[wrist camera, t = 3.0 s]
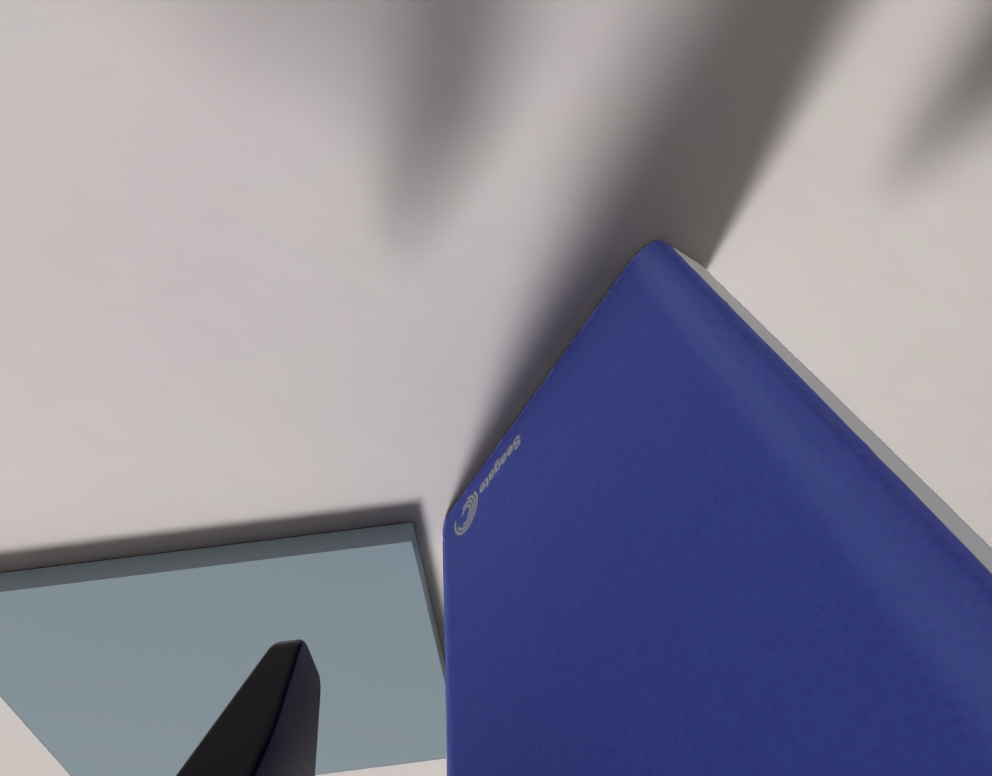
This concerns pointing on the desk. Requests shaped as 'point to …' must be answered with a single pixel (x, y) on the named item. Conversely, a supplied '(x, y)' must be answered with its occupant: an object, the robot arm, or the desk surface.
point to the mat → (225, 649)
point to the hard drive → (707, 567)
